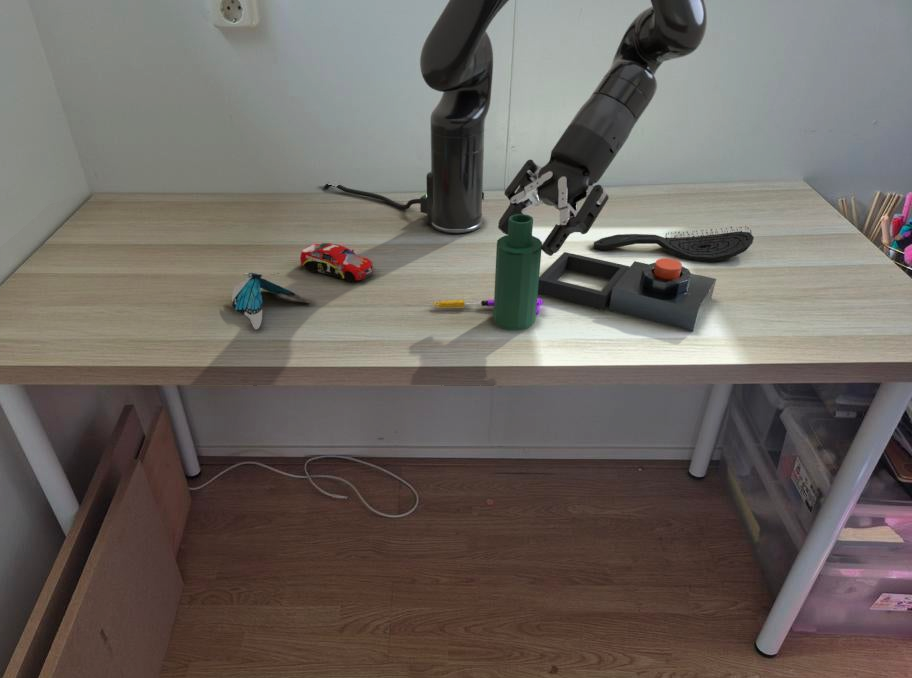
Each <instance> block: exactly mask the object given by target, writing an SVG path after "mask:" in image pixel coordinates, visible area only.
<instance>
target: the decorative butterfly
mask: <svg viewBox="0 0 912 678" xmlns="http://www.w3.org/2000/svg"><path fill="white" fill-rule="evenodd" d="M279 274H280V273H279V272H277V273H276V275H279ZM242 275H243V276H244V277H245V276H246V277H247V278H245V279H244V280H243V282H240V283H237V284H236V285H235V286H234V288H233V291H232V296H231V303H232V308H233V309H234V310H235V311H236V312H238V313H243V315H244V316H245V317H247V318H248V320H249V321H250V322H251V325H252V327H253V328H254V330H258V329H259V328H260V327H261V325H262V321H263V297H262V291H261V289H262V290H264V291H267V292H269V293H272V294H277V295H284V296H286V297H288V298H293V299H296V300H298V301H301V302H304V303H307V304H310V303H311V302H310V301H309V300H308V299H307V298H305V297H302V296H301V295H299V294H297V293H296V292H293V291H291V290H289V289H287V288H285V287H282V286H280V285H278V284H276V283H273V282H271V281H270V280H267V279H265V278H262V277H263V274H261V273H259V274H258V273H257V272H256V273H255V272H245V273H244V272H243V273H242ZM273 275H274V273H272V274H271V273H270V276H273Z"/></svg>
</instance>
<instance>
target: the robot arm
mask: <svg viewBox="0 0 912 678" xmlns="http://www.w3.org/2000/svg"><path fill="white" fill-rule="evenodd" d="M509 1H510V0H448V1H447V4H446V6H445V7H444V9H443V11H442V12H441V14H440V15H439V17H438V19H436V22H435V24H434V25H433V26H432V29H431V30H430V31H429V33H428V35H427V37H426V38H425V41H424V43H423V45H422V48H421V51H420V58H419V66H420V67H419V68H420V73H421V77H422V78H423V81H424V82H425V84H426V85H427V86H428V87H429V88H430V89H431V90H434V91H437V92H439V93H440V92H442V95H441V97H440V100H439V101H438V103H437V105H436V106H435V108H433V110H432V111H431V114H430V122H429V123H430V171H429V172H427V173H426V179H425V180H426V193H425V194H424V195H422V196H421V197H419V198H413V199H410V200H408V201H407V202H406V203H405V204H403V203H402V204H401V203H399V202H396V201H394V200H393V199H391V198H388V197H386V196H384V195H381V194H379V193H378V194H377V193H374V192H369V191H364V190H358V189H353V188H350V187H346V186H344V185H343V184H342V185H341V184H340V185H338V186H337V187H335V186H332V185H328V184H327V183H325V185H324V186H323V189H324V190H325V189H329V188H330V187H334V188H336V189H338V190H340V191H341V192H344V193H348V194H352V195H357V196H363V197H368V198H370V199H371V198H372V199H375V200H379V201H382V202H383V203H384V202H385V203H387V204H388V205H390V206H391V207H394V208H397V209H400V210H408V209H410V207H411V206H413V205H417V204H419V206H420V207H419V210H420V213H422V214H426V225H429V226H431V227H432V228H433V229H435V230H437V231H439V232H442V233H446V234H447V233H448V234H463V233H465V234H466V233H469V232H474V231H476V230H478V229H479V228H480V227H481V226H482V225H483V201H484V199H485V192H484V191H483V190H484V162H485V161H484V159H485V130H486V129H485V127H486V126H485V125H486V118H487V116H488V113H489V110H490V106H491V98H492V88H493V87H492V85H493V74H494V73H493V72H494V48H493V44H492V41H491V38H490V36H489V34H488V32H487V29H488V28H489V26H490V25H491V23H492V21H493V20H494V18H496V16H497V15H498V13H499V12H500V11H501V10H502V9H503V8H504V7H505V6H506V4H508V2H509ZM650 3H651V6H649V7H648V8H646V9H644V10H643V11H641V12H640V13H639V14H637V15H636V17H635V18H634V19H633V20H632V22H631V23H630V24H629V25H628V27H627V29H626V30H625V32H624V34H623V37H622V38H621V40H620V43H619V45H618V47H617V49H616V51H615V54H614V55H613V59H612V62H611V65H610V67H609V69H608V70H607V72H606V73H605V74H604V76H603V77H602V78H601V80H600V82H599V83H598V85H597V86H596V88H595V89H594V90H593V92H592V94H591V95H590V96H589V98H588V99H587V100H586V101H585V103H583V105H582V106H581V107H580V108H579V110H578V111H577V112H576V113H575V114H574V117H573V118H572V119H571V121H570V123H569V125H567V128H565V130H564V131H563V133H562V135H561V136H560V138H559V139H558V141H557V142H556V143H555V145H554V146H553V148H552V149H551V151H550V157H549V160H548V162H547V163H546V164H544V166H541V165H540V166H539V165H537V164H536V163H535V162H534V160H533V159H528V160H526V162H525V163H524V164H523V165H522V167H521V169H520V170H519V171H518V172H517V174H516V175H515V177H514V178H513V179H512V181H511V182H510V183H509V185H508V186H507V188H506V189H505V190H504V196H505V197H506V198H507V199H508V200H509V205H508V207H507V208H506V210H505V211H504V212H503V214H502V216H501V217H500V219H499V221H498V224H497V228H498V230H499V231H500V232H502V234H504V235H508V227H509V217H510V216H512V215H515V214H524V213H523V212H525V211H526V210H528V209H531V208H532V207H538V206H540V205H542V204H544V205H546V206H549V207H554V208H555V209H556V210H558V211H559V224H557V223H556V224H555V225H554V227H553V228H552V229H551V231H550V232H549V234H548V235H547V237H546V238H545V240H543V242H542V246H541V249H542V250H541V251H542V252H543V253H544V254H545V255H547V256H549V257H552V256H553V255H554V254H556V253H558V252H559V251H560V249H561V247H562V246H563V245H564V243H565V242H566V240H567V239H568V238H569V236H570V235H571V234H574V233H580V234H581V235H586V234H587V233H588V232H589V231H590V229H591V227H592V226H593V224H594V223H595V222H596V219H597V218H598V216H599V215H600V213H601V212H602V210H603V208H604V207H605V206H606V204H607V202H608V200H609V195H608V193H607V192H606V190H605V188H603V186H602V185H601V184H597V183H598V182H599V181H600V180H601V178H602V177H603V175H604V174H605V172H606V171H607V170H608V168H609V167H610V165H611V164H612V162H613V161H614V160H615V158H616V157H617V156H618V153H619V152H620V151H621V149H622V148H623V146H624V145H625V143H626V142H627V140H628V139H629V137H630V135H631V133H632V130H633V129H634V127H635V125H636V123H637V122H638V121H639V120H640V118H641V117H642V115H643V114H644V112H645V111H646V109H647V108H648V106H649V105H650V103H651V102H652V100H653V98H654V96H655V94H656V92H657V89H658V82H657V78H656V76H655V74H656V72H657V71H658V69H659V68H660V66H661V65H662V64H663V63H664V62H666V61H670V60H675V59H679V58H684V57H686V56H688V55H691V54H692V53H694V52H695V51H696V50H697V49H698V48H699V47H700V45H701V44H702V42H703V40H704V38H705V35H706V32H707V31H706V30H707V24H708V13H707V7H706V3H705V0H650ZM595 184H596V185H595ZM535 192H537V193H535ZM583 199H585V200H584V202H583V203H582V205H581V207H580V208H579V202H580V201H582V200H583Z"/></svg>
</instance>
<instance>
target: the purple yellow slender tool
mask: <svg viewBox="0 0 912 678" xmlns="http://www.w3.org/2000/svg"><path fill="white" fill-rule="evenodd" d="M465 305H481V307H494V299H486V300H485V299H483V300H481V302H465V299H456V300H440V301H434V307H440V308H458V309H459V308H462V309H463V308H465ZM542 305H544V299H542V298H540V297H537V307H536V314H540V312H541V311H540V310H541V309H540V306H542Z"/></svg>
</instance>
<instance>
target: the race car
mask: <svg viewBox="0 0 912 678" xmlns="http://www.w3.org/2000/svg"><path fill="white" fill-rule="evenodd" d="M299 257H300V259H299V260H300V264H301V266H302V267H303V268H305V269H307V270H308V271H309V272H311V273H315V272H317V273H320V274H321V273H322V274H324V275H325V274H326V275H329V276H333V277H337V278H341V279H345V280H346V281H347V282H348V283H354V282H356V281H360V280H364V279H367V278H369V277H371V276H372V274H373V273H374V265H373V261H372V260H371V259H369V258H368V257H366V256H364V255H360V254H358V253H356V252H355V249H350V248H348V247H346V246H343V245H341V244H336V243H331V242H322V243H313V244H310V245H308V246H306V247H304V248H303V249H302V250H301V253H300V256H299Z"/></svg>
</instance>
